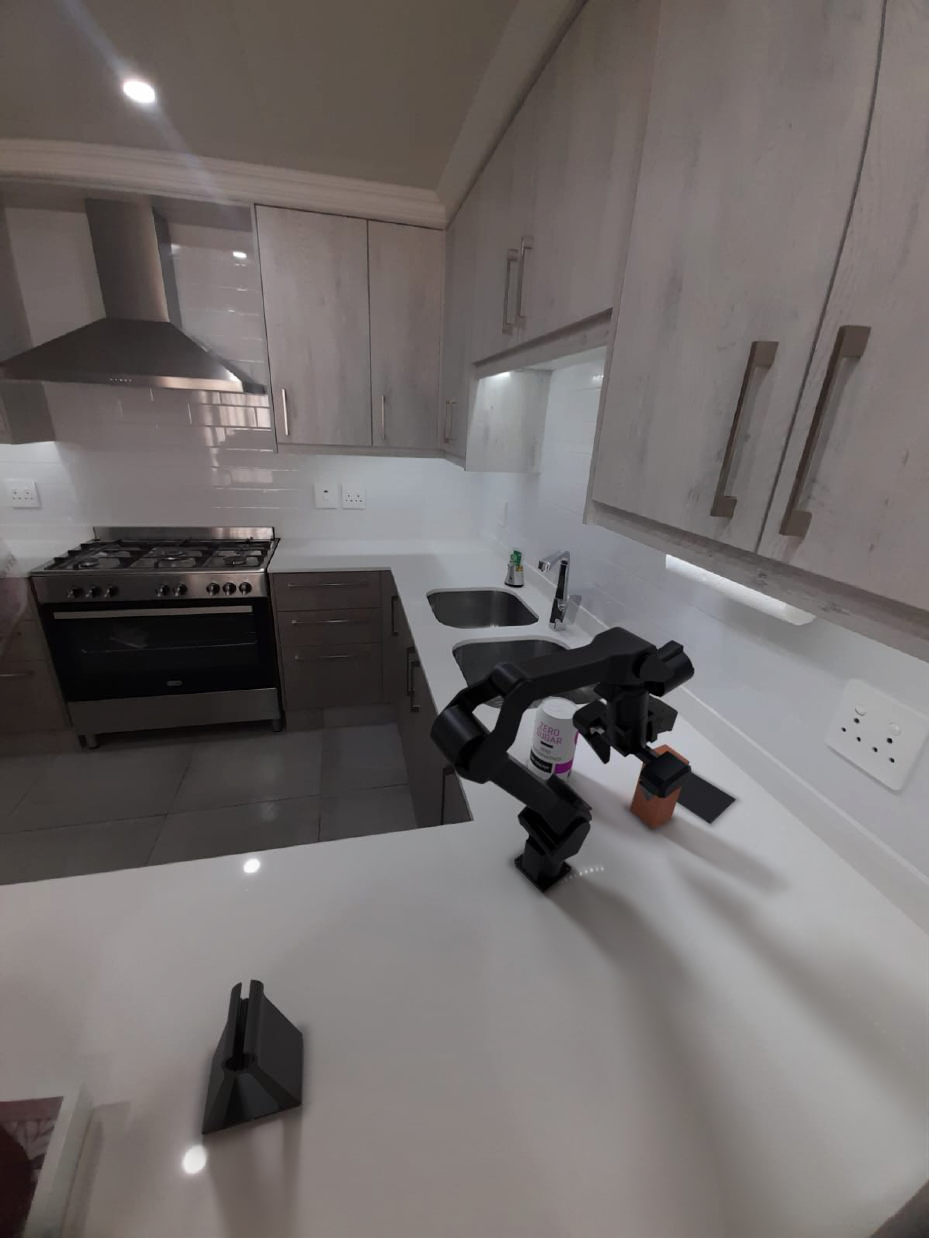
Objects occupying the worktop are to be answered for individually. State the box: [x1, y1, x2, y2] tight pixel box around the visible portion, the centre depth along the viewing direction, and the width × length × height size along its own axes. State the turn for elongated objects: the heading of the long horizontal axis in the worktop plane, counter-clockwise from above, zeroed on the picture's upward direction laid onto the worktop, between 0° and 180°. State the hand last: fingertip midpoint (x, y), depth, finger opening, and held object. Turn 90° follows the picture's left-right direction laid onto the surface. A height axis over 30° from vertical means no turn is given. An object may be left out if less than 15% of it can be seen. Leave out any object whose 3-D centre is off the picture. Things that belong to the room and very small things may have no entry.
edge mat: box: [676, 772, 736, 824], centre depth 93 cm, size 10×12×1 cm
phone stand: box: [200, 979, 303, 1136], centre depth 47 cm, size 9×6×12 cm, turn 105°
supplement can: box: [527, 696, 580, 782], centre depth 92 cm, size 8×8×15 cm
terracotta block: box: [629, 743, 690, 830], centre depth 84 cm, size 5×5×13 cm
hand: (626, 780), depth 78 cm, fingers open, 9 cm apart
